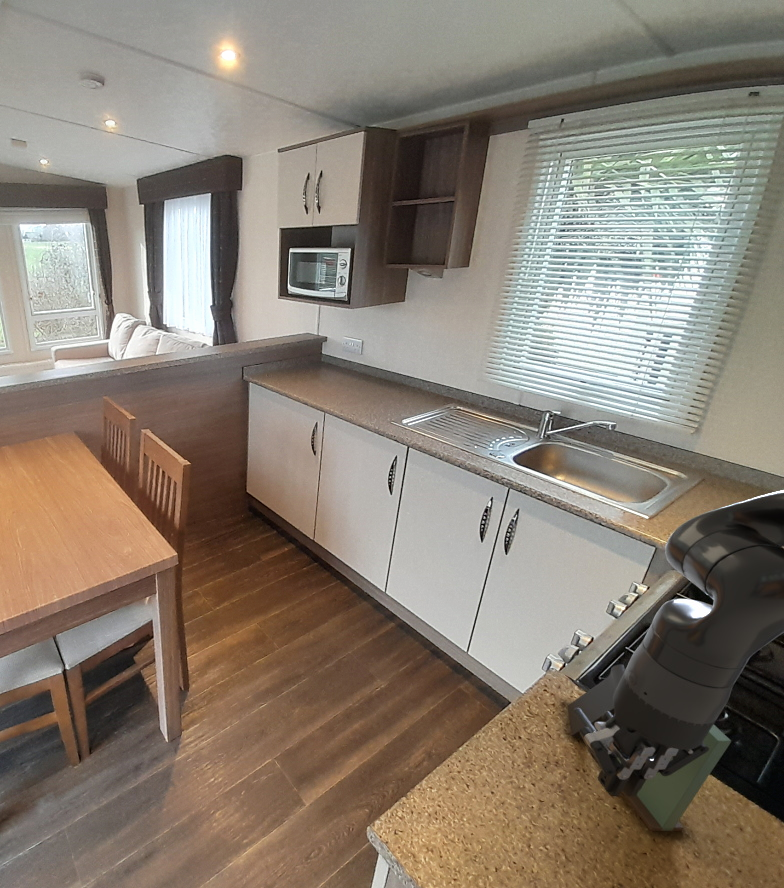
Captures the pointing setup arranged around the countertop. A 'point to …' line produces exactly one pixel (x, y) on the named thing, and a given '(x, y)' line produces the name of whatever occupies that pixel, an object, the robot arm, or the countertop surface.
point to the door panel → (675, 786)
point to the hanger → (586, 721)
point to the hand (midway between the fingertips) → (616, 788)
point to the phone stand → (595, 701)
